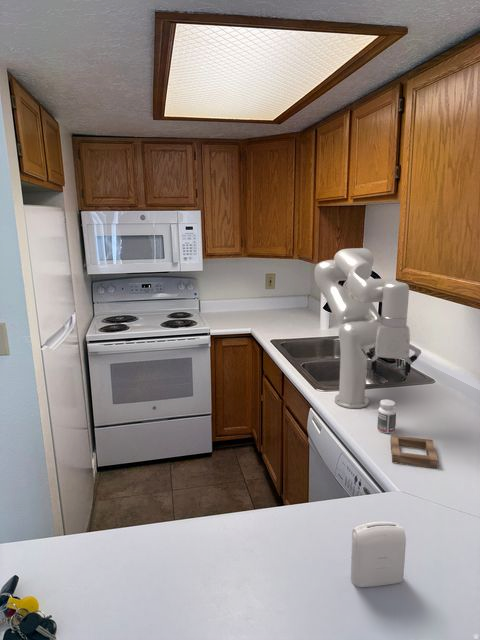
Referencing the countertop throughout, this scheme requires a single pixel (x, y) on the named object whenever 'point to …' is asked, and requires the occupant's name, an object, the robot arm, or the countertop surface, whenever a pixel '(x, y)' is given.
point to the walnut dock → (413, 459)
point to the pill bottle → (387, 416)
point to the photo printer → (378, 554)
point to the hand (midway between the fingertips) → (390, 373)
